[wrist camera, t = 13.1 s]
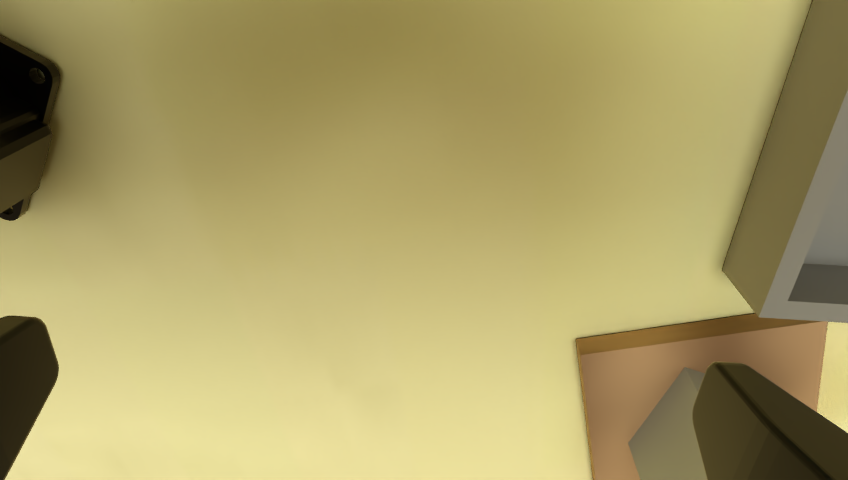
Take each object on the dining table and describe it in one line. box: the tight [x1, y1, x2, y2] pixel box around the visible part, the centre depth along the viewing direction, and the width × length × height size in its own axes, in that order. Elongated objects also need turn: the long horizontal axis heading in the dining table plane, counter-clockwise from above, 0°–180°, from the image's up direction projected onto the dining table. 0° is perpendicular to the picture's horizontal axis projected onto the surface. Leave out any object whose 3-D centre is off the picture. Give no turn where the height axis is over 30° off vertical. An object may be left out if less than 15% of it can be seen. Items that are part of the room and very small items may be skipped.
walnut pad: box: [576, 313, 828, 480], centre depth 25 cm, size 9×9×1 cm
